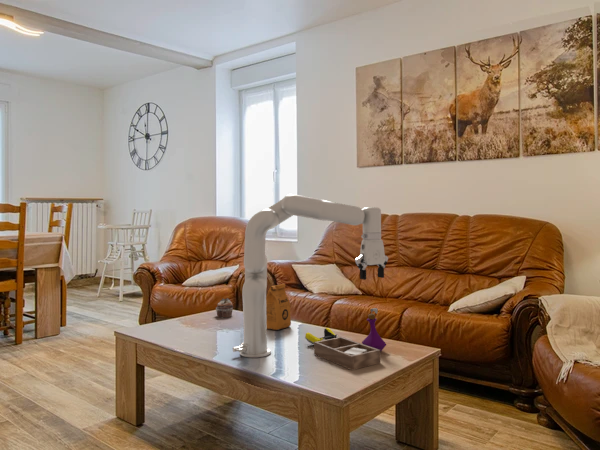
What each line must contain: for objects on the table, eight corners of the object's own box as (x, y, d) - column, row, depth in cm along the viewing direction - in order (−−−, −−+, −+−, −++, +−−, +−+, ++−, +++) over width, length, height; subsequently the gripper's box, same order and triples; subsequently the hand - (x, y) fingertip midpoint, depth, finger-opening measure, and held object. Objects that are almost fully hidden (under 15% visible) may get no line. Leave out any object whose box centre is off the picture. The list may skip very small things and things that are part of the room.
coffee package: (294, 327, 240) (293, 284, 239) (276, 332, 230) (276, 287, 230) (279, 324, 246) (279, 282, 246) (262, 329, 237) (262, 285, 236)
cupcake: (228, 313, 275) (228, 296, 275) (235, 316, 267) (235, 298, 267) (213, 315, 270) (212, 298, 270) (220, 318, 262) (219, 300, 262)
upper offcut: (357, 361, 177) (357, 355, 177) (343, 359, 180) (343, 352, 180) (367, 356, 183) (366, 349, 183) (353, 353, 187) (353, 347, 187)
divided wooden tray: (351, 370, 173) (351, 356, 173) (314, 354, 193) (314, 342, 193) (380, 363, 181) (380, 350, 181) (341, 348, 201) (341, 336, 201)
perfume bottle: (361, 350, 198) (361, 307, 198) (376, 347, 201) (376, 305, 201) (371, 354, 192) (370, 310, 191) (386, 352, 195) (386, 308, 194)
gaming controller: (303, 345, 208) (319, 349, 200) (303, 332, 207) (318, 336, 200) (327, 338, 218) (343, 343, 210) (327, 326, 217) (343, 330, 210)
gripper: (361, 238, 188) (362, 281, 188) (393, 236, 197) (393, 277, 198) (349, 237, 194) (350, 279, 195) (381, 236, 204) (381, 275, 204)
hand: (372, 278), depth 196 cm, fingers open, 9 cm apart
